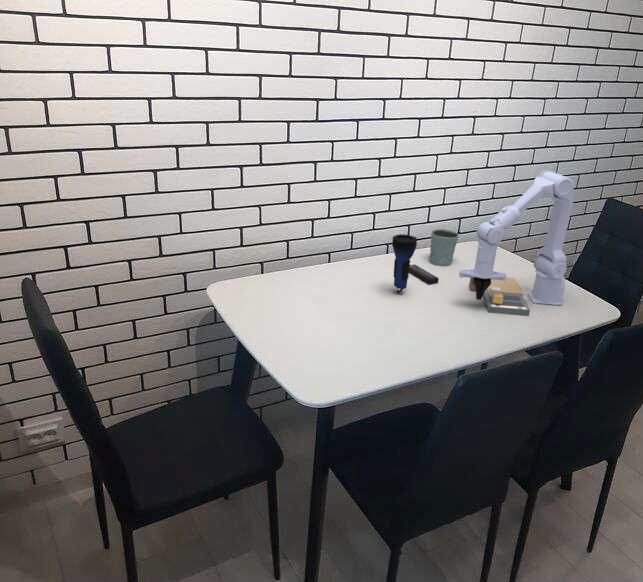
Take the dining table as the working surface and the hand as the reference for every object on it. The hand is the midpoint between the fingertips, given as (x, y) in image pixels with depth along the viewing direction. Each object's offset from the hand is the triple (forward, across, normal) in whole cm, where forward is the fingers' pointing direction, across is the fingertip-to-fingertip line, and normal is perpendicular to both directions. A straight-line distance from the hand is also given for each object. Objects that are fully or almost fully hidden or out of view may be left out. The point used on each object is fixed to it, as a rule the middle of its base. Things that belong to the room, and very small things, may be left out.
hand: (478, 298), depth 188 cm
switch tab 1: (+1, -6, -5) cm, 8 cm away
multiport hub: (+4, +17, -22) cm, 28 cm away
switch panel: (+3, -9, -2) cm, 10 cm away
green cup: (+3, +9, -38) cm, 40 cm away
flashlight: (+3, +26, -6) cm, 26 cm away
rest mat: (+3, -11, -20) cm, 23 cm away
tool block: (+3, -1, -14) cm, 15 cm away
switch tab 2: (+1, -6, 0) cm, 6 cm away
